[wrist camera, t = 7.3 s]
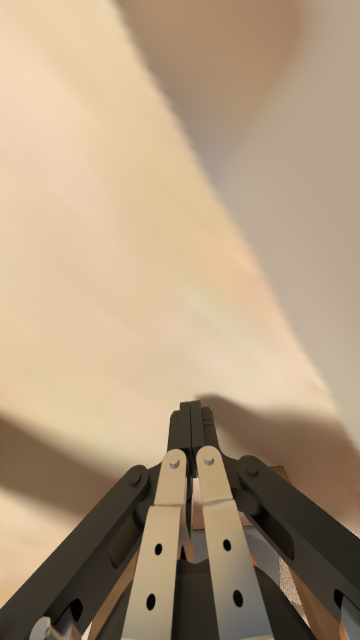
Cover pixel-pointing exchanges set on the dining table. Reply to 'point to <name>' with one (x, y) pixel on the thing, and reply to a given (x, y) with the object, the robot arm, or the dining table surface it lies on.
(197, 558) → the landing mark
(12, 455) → the dining table surface
